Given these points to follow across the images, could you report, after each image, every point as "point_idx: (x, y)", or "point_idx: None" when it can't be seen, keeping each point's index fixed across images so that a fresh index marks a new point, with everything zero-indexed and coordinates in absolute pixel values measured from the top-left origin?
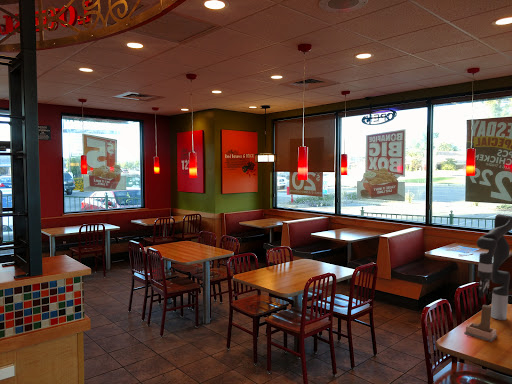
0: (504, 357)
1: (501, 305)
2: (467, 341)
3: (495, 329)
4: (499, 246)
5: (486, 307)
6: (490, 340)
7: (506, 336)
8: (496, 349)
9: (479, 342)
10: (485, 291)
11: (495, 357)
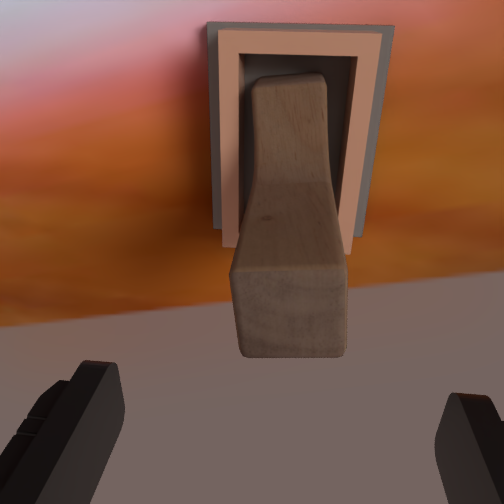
0: (57, 309)
1: None
2: (74, 93)
3: (346, 249)
4: None
5: (235, 320)
6: (214, 221)
7: (402, 277)
8: (123, 265)
9: (136, 165)
10: (463, 491)
11: (11, 277)
